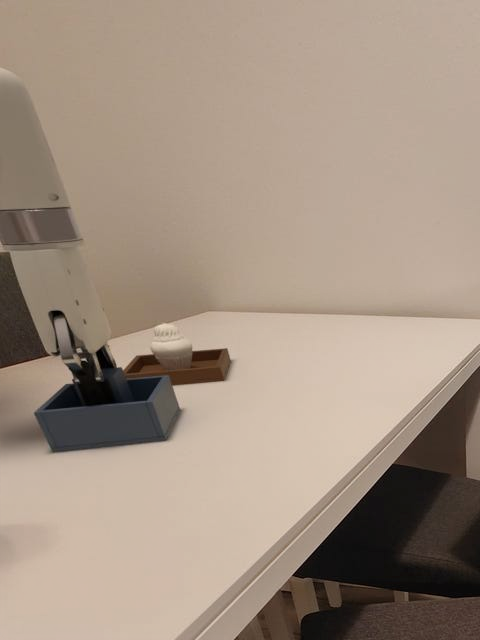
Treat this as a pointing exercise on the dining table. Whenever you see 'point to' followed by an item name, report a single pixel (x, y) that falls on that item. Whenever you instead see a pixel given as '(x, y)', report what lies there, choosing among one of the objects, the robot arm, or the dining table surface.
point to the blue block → (114, 385)
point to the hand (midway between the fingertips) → (111, 408)
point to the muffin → (171, 347)
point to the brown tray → (201, 369)
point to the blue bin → (110, 417)
